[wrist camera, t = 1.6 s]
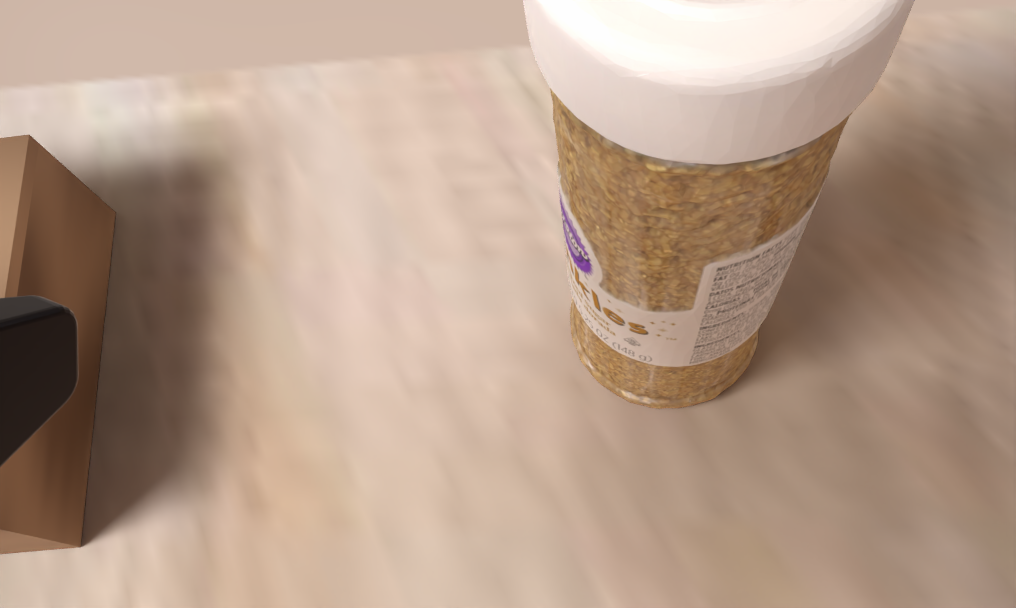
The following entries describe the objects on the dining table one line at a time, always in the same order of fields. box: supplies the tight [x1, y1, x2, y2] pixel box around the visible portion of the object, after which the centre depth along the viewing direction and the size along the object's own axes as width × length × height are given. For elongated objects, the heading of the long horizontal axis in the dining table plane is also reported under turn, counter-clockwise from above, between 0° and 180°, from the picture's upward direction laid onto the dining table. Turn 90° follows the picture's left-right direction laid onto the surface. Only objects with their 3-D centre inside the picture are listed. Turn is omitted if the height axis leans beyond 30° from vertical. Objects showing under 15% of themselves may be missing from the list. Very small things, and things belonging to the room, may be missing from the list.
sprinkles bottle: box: [523, 0, 914, 409], centre depth 16 cm, size 5×5×13 cm
